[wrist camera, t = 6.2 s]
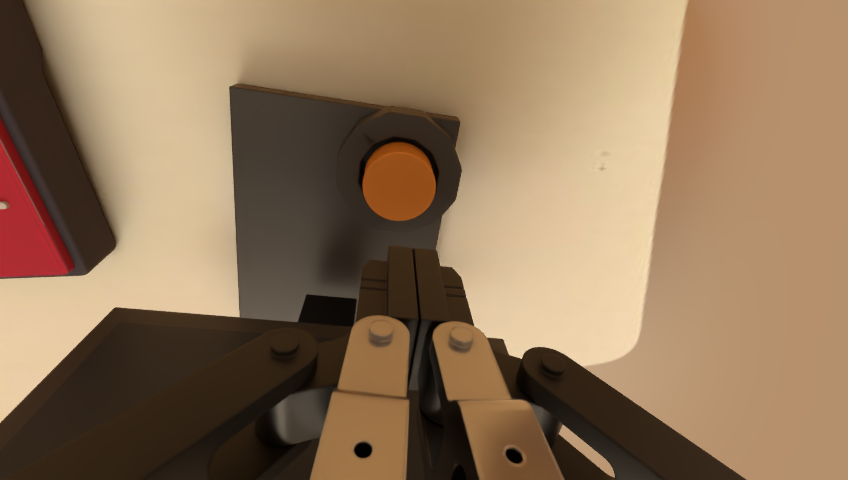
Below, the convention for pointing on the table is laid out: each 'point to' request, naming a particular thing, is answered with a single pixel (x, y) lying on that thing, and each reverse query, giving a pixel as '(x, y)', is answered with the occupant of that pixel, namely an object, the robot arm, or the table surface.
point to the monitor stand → (328, 310)
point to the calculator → (40, 170)
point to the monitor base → (322, 193)
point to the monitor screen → (149, 380)
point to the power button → (398, 181)
